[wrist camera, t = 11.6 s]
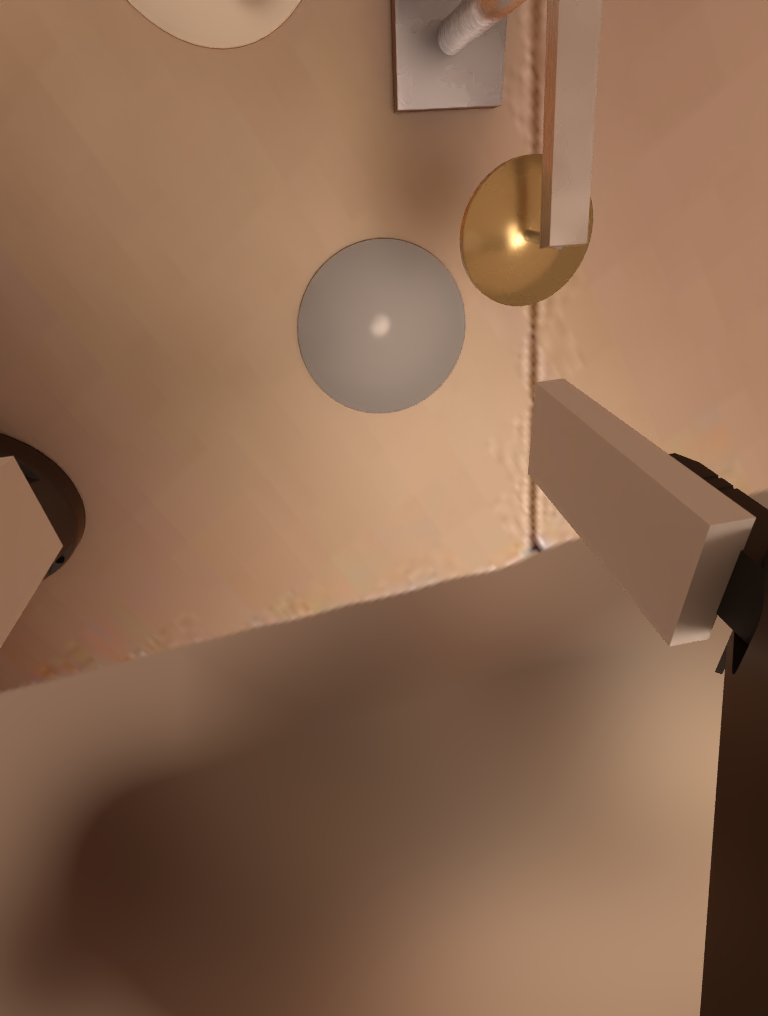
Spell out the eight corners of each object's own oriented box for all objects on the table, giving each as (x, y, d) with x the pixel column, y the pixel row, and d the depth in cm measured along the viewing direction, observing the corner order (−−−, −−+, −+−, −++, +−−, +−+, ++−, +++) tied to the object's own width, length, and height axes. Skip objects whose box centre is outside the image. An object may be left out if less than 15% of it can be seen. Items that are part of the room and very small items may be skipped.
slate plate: (309, 419, 45) (309, 421, 45) (285, 244, 38) (285, 245, 37) (461, 404, 47) (462, 405, 46) (468, 232, 39) (469, 232, 39)
